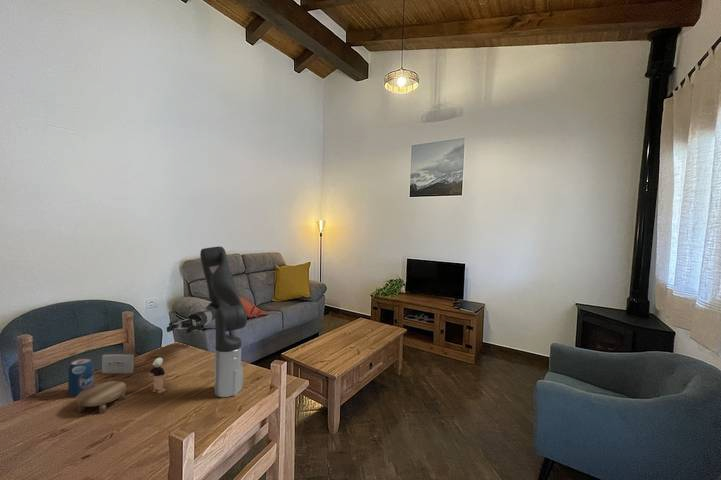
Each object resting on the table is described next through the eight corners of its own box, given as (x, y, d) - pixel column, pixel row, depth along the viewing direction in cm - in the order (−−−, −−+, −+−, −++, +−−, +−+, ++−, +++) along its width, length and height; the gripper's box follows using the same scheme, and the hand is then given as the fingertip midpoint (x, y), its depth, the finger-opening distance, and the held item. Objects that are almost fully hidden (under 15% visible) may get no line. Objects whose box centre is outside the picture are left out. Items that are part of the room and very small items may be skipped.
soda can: (84, 397, 110) (84, 365, 110) (62, 398, 109) (62, 365, 109) (98, 387, 117) (98, 356, 117) (77, 388, 116) (78, 357, 116)
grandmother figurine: (170, 388, 118) (171, 356, 118) (163, 394, 114) (163, 361, 114) (152, 387, 119) (152, 355, 118) (144, 392, 115) (144, 359, 115)
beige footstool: (134, 395, 113) (134, 382, 112) (103, 417, 100) (103, 402, 99) (101, 393, 113) (101, 380, 113) (65, 414, 100) (65, 399, 100)
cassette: (100, 373, 128) (101, 355, 127) (104, 371, 129) (104, 354, 129) (131, 373, 129) (131, 355, 129) (134, 371, 131) (134, 354, 130)
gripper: (185, 310, 143) (161, 320, 127) (214, 311, 143) (194, 322, 126) (185, 325, 144) (160, 338, 127) (214, 327, 143) (193, 340, 127)
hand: (177, 330), depth 127 cm, fingers open, 8 cm apart
